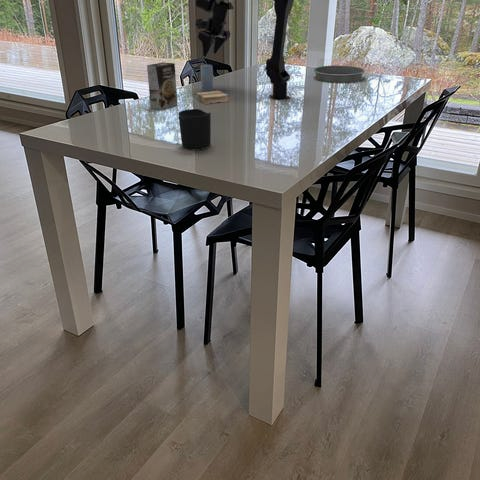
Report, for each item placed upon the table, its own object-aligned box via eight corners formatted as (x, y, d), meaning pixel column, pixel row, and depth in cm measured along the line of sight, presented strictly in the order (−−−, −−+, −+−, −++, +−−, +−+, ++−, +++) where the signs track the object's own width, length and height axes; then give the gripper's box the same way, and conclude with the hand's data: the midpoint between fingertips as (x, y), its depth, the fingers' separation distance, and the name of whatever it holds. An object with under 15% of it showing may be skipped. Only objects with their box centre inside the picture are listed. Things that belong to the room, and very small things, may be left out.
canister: (215, 92, 212) (214, 66, 206) (204, 93, 210) (202, 67, 204) (210, 90, 216) (209, 64, 210) (200, 91, 214) (198, 65, 209)
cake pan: (303, 77, 242) (303, 67, 239) (344, 72, 250) (344, 63, 248) (331, 86, 222) (332, 76, 220) (374, 81, 231) (375, 71, 229)
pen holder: (212, 140, 151) (210, 108, 146) (211, 150, 143) (210, 116, 138) (182, 141, 151) (179, 109, 146) (179, 151, 143) (177, 117, 138)
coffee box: (161, 110, 185) (158, 66, 177) (150, 108, 188) (145, 64, 180) (178, 105, 191) (175, 63, 183) (166, 103, 194) (163, 61, 187)
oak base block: (228, 101, 196) (228, 95, 195) (205, 104, 193) (205, 97, 192) (219, 96, 204) (218, 90, 203) (196, 99, 201) (196, 92, 200)
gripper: (212, 8, 206) (204, 44, 216) (190, 11, 192) (182, 50, 201) (235, 18, 204) (225, 54, 213) (214, 22, 189) (205, 61, 199)
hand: (209, 54), depth 207 cm, fingers open, 9 cm apart
